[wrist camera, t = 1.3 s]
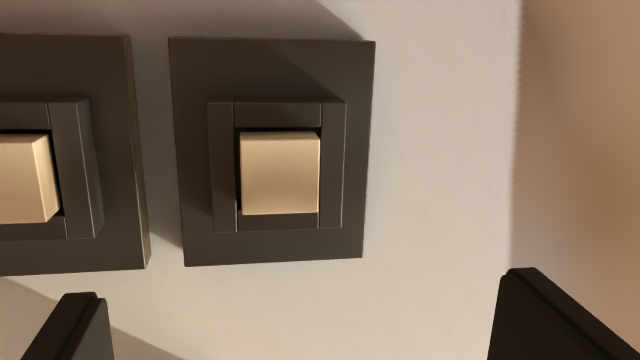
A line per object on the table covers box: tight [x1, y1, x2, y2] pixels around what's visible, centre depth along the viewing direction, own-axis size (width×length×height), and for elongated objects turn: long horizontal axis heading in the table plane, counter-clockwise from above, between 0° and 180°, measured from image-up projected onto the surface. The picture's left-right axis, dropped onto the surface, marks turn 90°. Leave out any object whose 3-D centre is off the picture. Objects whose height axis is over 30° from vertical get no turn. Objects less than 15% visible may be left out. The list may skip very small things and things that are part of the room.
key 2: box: [240, 131, 320, 215], centre depth 22 cm, size 4×4×2 cm
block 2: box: [168, 36, 376, 267], centre depth 24 cm, size 12×10×4 cm
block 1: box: [0, 32, 151, 277], centre depth 22 cm, size 12×10×4 cm
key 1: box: [0, 133, 60, 224], centre depth 20 cm, size 4×4×2 cm
